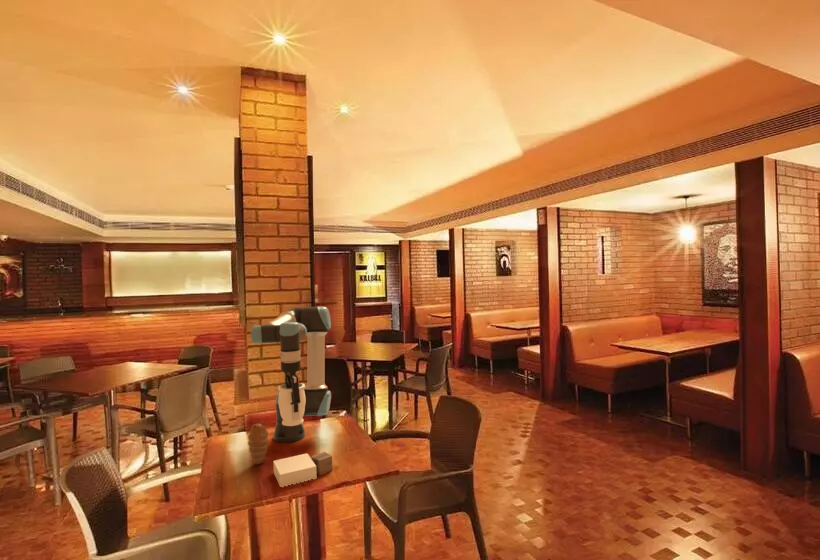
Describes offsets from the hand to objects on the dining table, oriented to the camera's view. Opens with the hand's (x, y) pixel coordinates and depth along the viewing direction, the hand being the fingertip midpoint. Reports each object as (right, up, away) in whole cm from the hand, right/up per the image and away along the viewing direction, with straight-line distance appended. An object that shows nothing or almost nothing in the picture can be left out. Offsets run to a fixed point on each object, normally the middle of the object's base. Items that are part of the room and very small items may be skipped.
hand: (292, 415), depth 173 cm
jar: (0, -3, 0) cm, 3 cm away
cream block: (+1, -24, +1) cm, 24 cm away
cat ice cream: (-18, -25, +12) cm, 33 cm away
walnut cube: (+11, -24, +5) cm, 27 cm away
